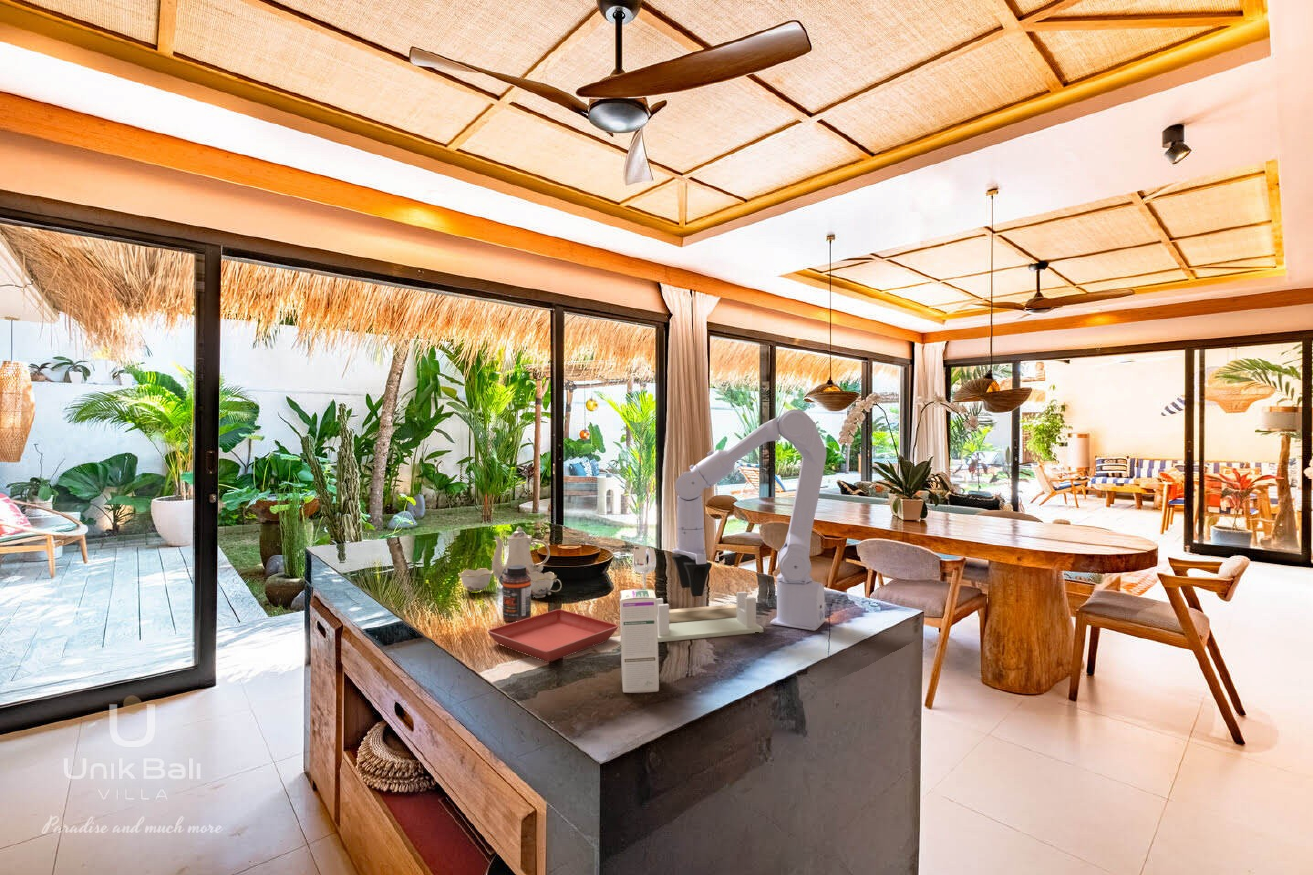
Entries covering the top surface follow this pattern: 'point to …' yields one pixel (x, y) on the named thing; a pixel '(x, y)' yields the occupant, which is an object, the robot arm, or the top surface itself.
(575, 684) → the top surface
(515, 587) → the supplement bottle
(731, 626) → the rail stand
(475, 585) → the chinaware
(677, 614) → the rail
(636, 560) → the wineglass
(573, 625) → the plant saucer
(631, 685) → the syrup box
